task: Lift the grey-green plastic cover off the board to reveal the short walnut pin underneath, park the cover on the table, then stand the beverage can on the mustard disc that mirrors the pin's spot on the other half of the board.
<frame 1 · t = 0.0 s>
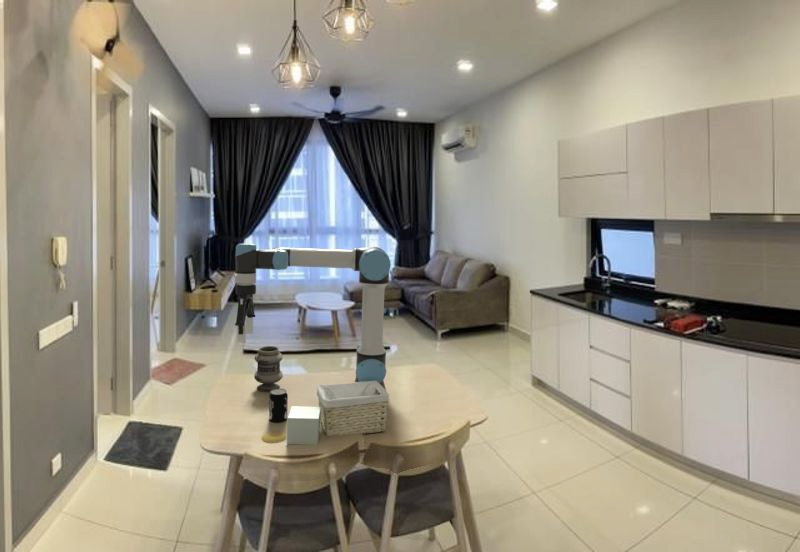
hand: (245, 337, 191), 28 cm above the table, tool pointing down, fingers open, 13 cm apart
apothecary jar: (268, 388, 216), on the table
cover: (303, 437, 167), point 1 cm above the table, touching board
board: (288, 441, 167), on the table
beverage can: (278, 423, 181), on the table
storage basket: (351, 428, 180), on the table
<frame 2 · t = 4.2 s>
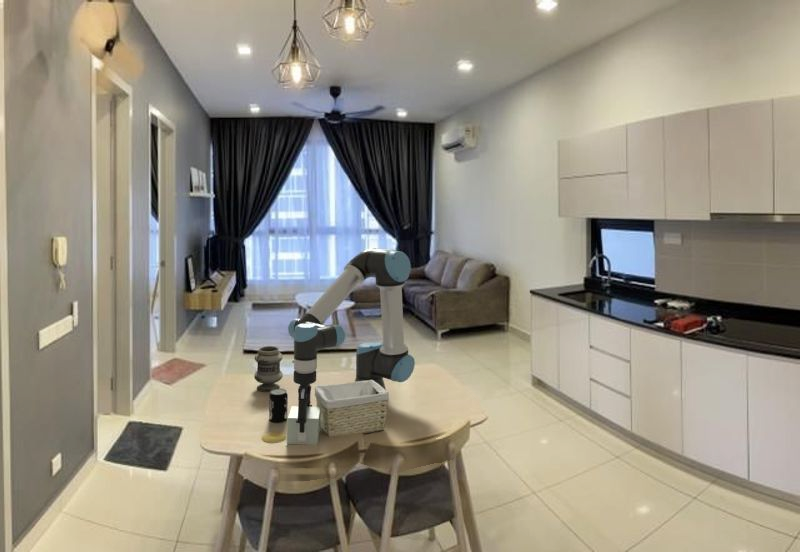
hand: (303, 433, 167), 3 cm above the table, tool pointing down, fingers closed on cover, 10 cm apart
cover: (303, 437, 167), point 1 cm above the table, touching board, gripper
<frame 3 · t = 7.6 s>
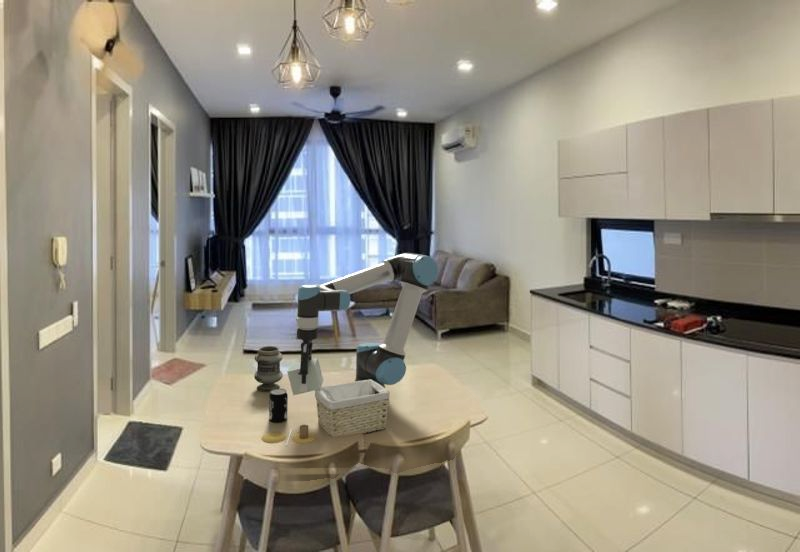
hand: (305, 386, 181), 14 cm above the table, tool pointing down, fingers closed on cover, 10 cm apart
cover: (308, 387, 181), point 13 cm above the table, tilted 15°, touching gripper
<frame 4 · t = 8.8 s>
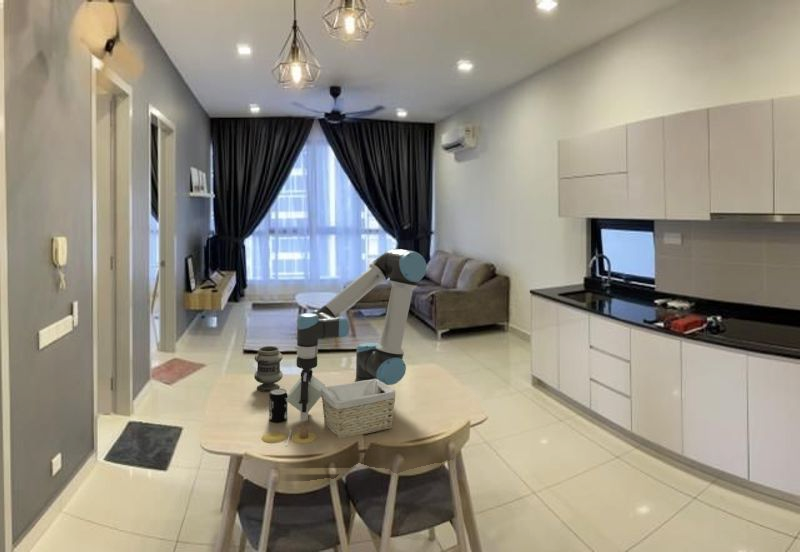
hand: (305, 414, 183), 3 cm above the table, tool pointing down, fingers closed on cover, 10 cm apart
cover: (315, 399, 182), point 9 cm above the table, tilted 54°, touching storage basket, gripper
storage basket: (357, 427, 180), on the table, touching cover
everything else where it was.
when the fingers open (3 cm above the table, at t = 9.3 s): cover drops 4 cm and tips over, point 5 cm above the table.
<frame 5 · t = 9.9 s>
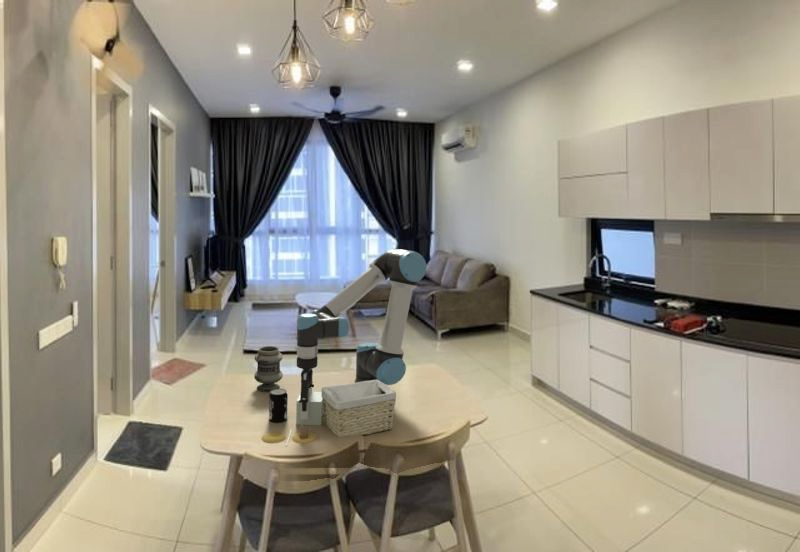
hand: (306, 411, 183), 4 cm above the table, tool pointing down, fingers open, 13 cm apart
cover: (323, 409, 182), point 5 cm above the table, tilted 90°
storage basket: (357, 428, 180), on the table
everything else where it was.
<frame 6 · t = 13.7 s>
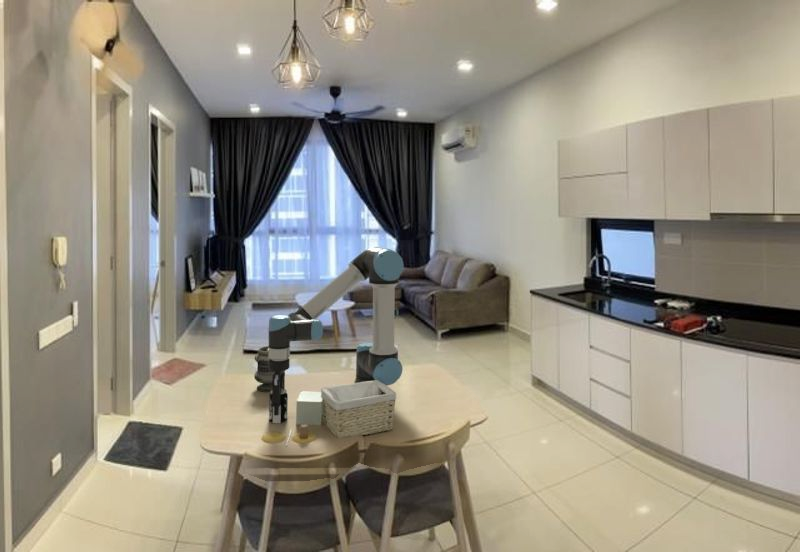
hand: (278, 418, 181), 1 cm above the table, tool pointing down, fingers closed on beverage can, 7 cm apart
beverage can: (278, 423, 181), on the table, touching gripper
when the fingers open (4 cm above the table, at t = 18.4 s): beverage can drops 1 cm, resting on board.
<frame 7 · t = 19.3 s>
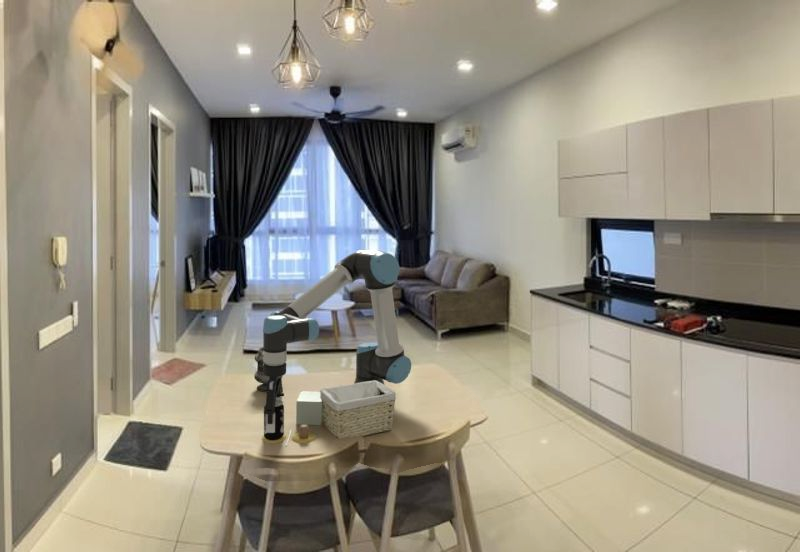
hand: (274, 423, 166), 6 cm above the table, tool pointing down, fingers open, 13 cm apart
beverage can: (273, 437, 166), point 1 cm above the table, touching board
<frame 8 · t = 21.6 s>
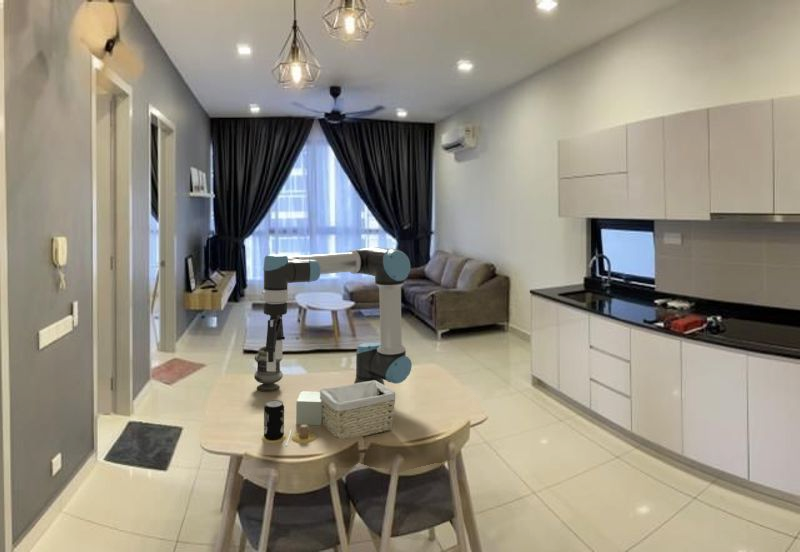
hand: (274, 364, 163), 27 cm above the table, tool pointing down, fingers open, 13 cm apart
at the end: beverage can inside the target area (0.0 cm from its centre), point 1.2 cm above the table; beverage can tilted 0°; cover moved 16.4 cm from its start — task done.
